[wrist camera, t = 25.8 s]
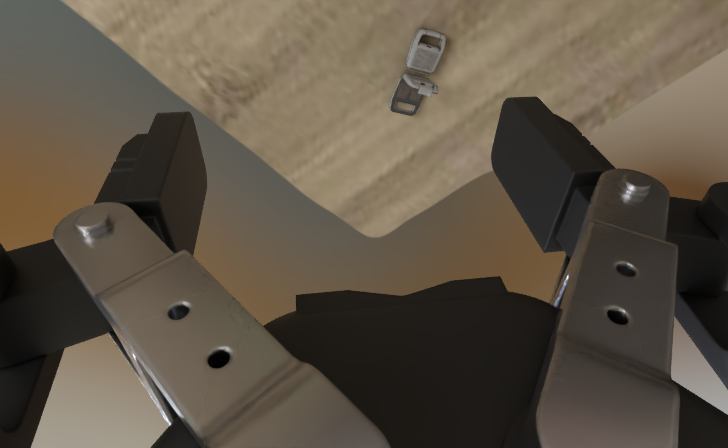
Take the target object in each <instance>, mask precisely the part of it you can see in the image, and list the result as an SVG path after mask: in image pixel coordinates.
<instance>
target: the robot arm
mask: <svg viewBox="0 0 728 448" xmlns="http://www.w3.org/2000/svg"><path fill="white" fill-rule="evenodd" d="M491 161H492V167H493V170H494V172H495V174H496V176H497V177H498V179H499V181H500V182H501V184H502V185H503V187H504V189H505V190H506V192H507V194H508V195H509V197H510V198H511V200H512V202H513V203H514V205H515V207H516V208H517V210H518V211H519V213H520V214H521V216H522V218H523V220H524V221H525V223H526V224H527V226H528V227H529V229H530V231H531V233H532V234H533V236H534V238H535V239H536V241H537V242H538V244H539V245H540V247H541V249H542V250H543V252H544V253H546V252H557V251H565V253H566V256H565V259H564V261H563V263H562V266H561V269H560V272H559V276H558V278H557V281H556V284H555V287H554V290H553V293H552V296H551V299H550V302H549V303H547V302H544V301H542V300H539V299H537V298H534V297H530V296H527V295H523V294H519V293H514V292H508V291H507V289H506V287H505V285H504V284H503V281H502V279H501V277H500V276H499V277H487V278H476V279H465V280H455V281H449V282H446V283H443V284H440V285H437V286H434V287H431V288H428V289H425V290H421V291H418V292H416V293H412V294H409V295H405V296H396V295H387V294H378V293H369V292H360V291H351V290H345V291H334V292H323V293H312V294H302V295H296V311H294V312H291V313H288V314H286V315H284V316H281V317H279V318H277V319H275V320H273V321H271V322H269V323H267V324H266V325H264V326H262V325H261V324H260V323H259V322H258V321H257V320H256V319H255V318H254V317H253V316H252V315H251V314H250V313H249V312H248V311H247V310H246V309H245V308H244V307H243V306H242V305H241V304H240V303H239V302H238V301H237V300H236V299H235V298H234V297H233V296H232V295H231V294H230V293H229V292H228V291H227V290H226V289H225V288H224V287H223V286H222V285H221V284H220V283H219V282H218V281H217V280H216V279H215V278H214V277H213V276H212V275H211V274H210V273H209V272H208V271H207V270H206V269H205V268H204V267H203V266H202V265H201V264H200V263H199V262H198V261H197V260H196V259H195V258H194V257H193V254H194V249H195V244H196V239H197V234H198V230H199V225H200V219H201V215H202V210H203V204H204V200H205V195H206V190H207V174H206V168H205V163H204V159H203V155H202V151H201V147H200V143H199V139H198V135H197V131H196V127H195V123H194V119H193V117H192V115H191V113H190V112H169V113H157V114H156V116H155V119H154V121H153V123H152V125H151V128H150V130H149V132H148V134H137V135H136V136H134V137H133V138H132V139H131V140H129V141H128V142H127V143H126V144H124V145H123V146H122V148H121V150H120V152H119V154H118V156H117V158H116V162H114V164H113V166H112V168H111V172H110V173H109V174H108V176H107V178H106V180H105V182H104V184H103V186H102V188H101V191H100V192H99V194H98V196H97V198H96V201H95V202H94V204H92V205H88V206H85V207H83V208H80V209H78V210H76V211H74V212H73V213H71V214H69V215H67V216H66V217H65V218H63V219H62V220H61V221H60V222H59V224H58V225H57V226H56V228H55V230H54V233H53V239H51V240H48V241H45V242H41V243H37V244H33V245H30V246H26V247H22V248H19V249H15V250H12V251H7V252H6V251H5V249H4V248H3V246H2V245H1V244H0V448H31V445H32V442H33V439H34V436H35V433H36V431H37V428H38V425H39V422H40V419H41V416H42V413H43V410H44V407H45V404H46V401H47V398H48V395H49V392H50V390H51V387H52V384H53V381H54V378H55V375H56V372H57V369H58V366H59V363H60V360H61V357H62V354H63V351H64V348H66V347H69V346H72V345H75V344H77V343H80V342H84V341H86V340H89V339H92V338H95V337H98V336H101V335H103V334H106V333H108V335H109V336H110V338H111V339H112V341H113V342H114V344H115V345H116V347H117V348H118V349H119V351H120V352H121V354H122V355H123V357H124V358H125V359H126V361H127V363H128V364H129V365H130V367H131V368H132V370H133V371H134V373H135V374H136V376H137V377H138V378H139V380H140V381H141V383H142V384H143V385H144V387H145V389H146V390H147V392H148V393H149V395H150V396H151V398H152V399H153V401H154V403H155V404H156V406H157V407H158V409H159V410H160V412H161V414H162V415H163V417H164V419H165V420H166V421H167V423H168V425H169V427H168V428H167V429H166V431H165V432H164V433H163V434H162V435H161V436H160V437H159V439H158V440H157V441H156V442H155V443H154V444H153V445H152V447H151V448H728V415H727V414H725V413H724V412H722V411H721V410H719V409H717V408H716V407H714V406H712V405H711V404H710V403H708V402H706V401H705V400H703V399H702V398H700V397H698V396H697V395H695V394H694V393H692V392H690V391H689V390H687V389H686V388H684V387H683V386H681V385H680V384H678V383H676V382H675V381H673V380H672V379H671V360H672V359H671V358H672V343H673V342H672V341H673V327H674V316H675V317H676V319H677V320H678V321H679V323H680V324H681V326H682V327H683V328H684V330H685V331H686V332H687V334H688V335H689V337H690V338H691V339H692V341H693V342H694V343H695V345H696V346H697V348H698V349H699V350H700V352H701V353H702V354H703V356H704V357H705V359H706V360H707V361H708V363H709V364H710V366H711V367H712V368H713V370H714V371H715V372H716V374H717V375H718V377H719V378H720V379H721V381H722V382H723V383H724V385H725V386H726V388H727V389H728V182H721V183H716V184H714V185H712V186H711V187H710V188H709V190H708V191H707V193H706V194H705V196H704V198H703V199H702V201H698V200H690V199H683V198H676V197H670V195H669V191H668V190H667V188H666V187H665V186H664V185H663V184H662V183H661V182H659V181H658V180H656V179H655V178H653V177H651V176H649V175H647V174H644V173H641V172H638V171H634V170H629V169H616V168H615V167H614V166H613V165H612V164H611V163H610V162H609V161H608V160H607V159H606V158H605V157H604V156H603V155H602V154H601V153H600V152H599V151H598V150H597V149H596V148H595V147H594V146H593V145H590V142H589V141H588V140H587V139H586V138H585V136H582V133H581V132H580V131H579V130H578V129H577V128H576V127H575V126H574V125H573V124H572V123H570V122H569V121H567V120H565V119H563V118H561V117H559V116H558V115H556V114H553V113H552V112H551V111H550V110H549V109H548V108H547V107H546V105H545V104H544V103H543V102H542V101H541V100H540V99H539V98H538V97H514V98H507V99H506V100H505V101H504V103H503V105H502V109H501V113H500V117H499V122H498V126H497V130H496V134H495V139H494V143H493V147H492V154H491Z"/></svg>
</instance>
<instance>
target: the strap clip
mask: <svg viewBox="0 0 728 448" xmlns="http://www.w3.org/2000/svg"><path fill="white" fill-rule="evenodd" d="M423 34H426V35H429V36H433V37H436V38H440V42H439V45H438V47H436V46H433V45H429V44H426V43H422V42H419V40H420V38H421V36H422V35H423ZM445 42H446V38H445V36H444V35H443V34H441V33H439V32H436V31H432V30H429V29H424V28H421V29H419V30H418V31H417V33H416V35H415V36H414V38H413V40H412V43H411V47H410V50H409V53H408V57H407V60H406V64H407V66H408V68H409V70H410V71H414V72H418V73H422V74H426V75H429V74H430V73H433V72H434V70H435V68H436V66H437V64H438V62H439V60H440V57H441V55H442V53H443V51H444V47H445ZM438 91H439V90H438V86H436V85H435V84H434V83H433V82H432V81H430V80H429V79H427V78H423V77H419V76H415V75H411V74H407V73H404V75H403V77H401V78H400V79H399V82H398V84H397V86H396V89H395V91H394V93H393V96H392V98H391V104H390V109H391V111H392V112H396V113H401V114H405V115H410V116H413V115H414V114H415V113H416V111H417V110H418V108H419V106H420V103H421V100H422V97H423V95H426V96H430V97H431V95H432V93H434V94H438ZM395 101H400V102H404V103H408V104H413V105H414V107H413V110H412V111H407V110H402V109H398V108H394V103H395Z"/></svg>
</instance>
